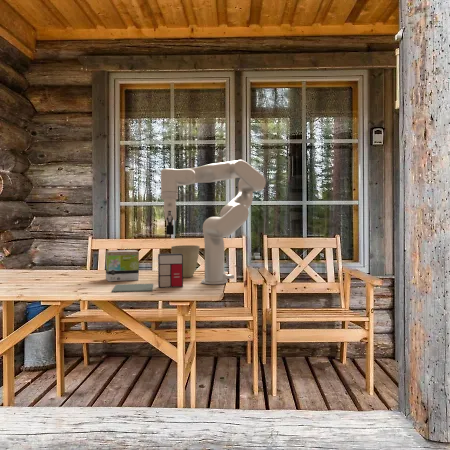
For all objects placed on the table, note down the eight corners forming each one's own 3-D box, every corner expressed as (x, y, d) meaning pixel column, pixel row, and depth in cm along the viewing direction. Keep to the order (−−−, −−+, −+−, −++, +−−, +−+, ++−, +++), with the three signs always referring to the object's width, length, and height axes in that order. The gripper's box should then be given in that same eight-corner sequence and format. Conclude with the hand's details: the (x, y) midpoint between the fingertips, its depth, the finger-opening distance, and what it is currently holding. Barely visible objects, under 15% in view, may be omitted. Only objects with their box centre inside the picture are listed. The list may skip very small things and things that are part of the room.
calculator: (158, 288, 198) (158, 254, 198) (158, 286, 202) (158, 253, 202) (183, 287, 200) (183, 254, 200) (182, 285, 204) (182, 253, 204)
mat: (153, 285, 206) (153, 283, 206) (152, 291, 190) (152, 289, 190) (116, 285, 204) (116, 284, 204) (111, 292, 188) (111, 290, 188)
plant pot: (201, 274, 240) (201, 245, 239) (197, 278, 225) (197, 247, 224) (174, 274, 241) (174, 244, 241) (168, 278, 226) (168, 247, 226)
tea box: (108, 282, 215) (107, 251, 214) (105, 279, 224) (105, 250, 223) (139, 280, 220) (139, 250, 220) (135, 277, 229) (135, 249, 229)
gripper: (178, 195, 192) (178, 235, 192) (177, 196, 209) (178, 232, 210) (160, 195, 191) (161, 235, 191) (161, 196, 208) (162, 233, 209)
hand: (170, 233), depth 200 cm, fingers open, 9 cm apart
